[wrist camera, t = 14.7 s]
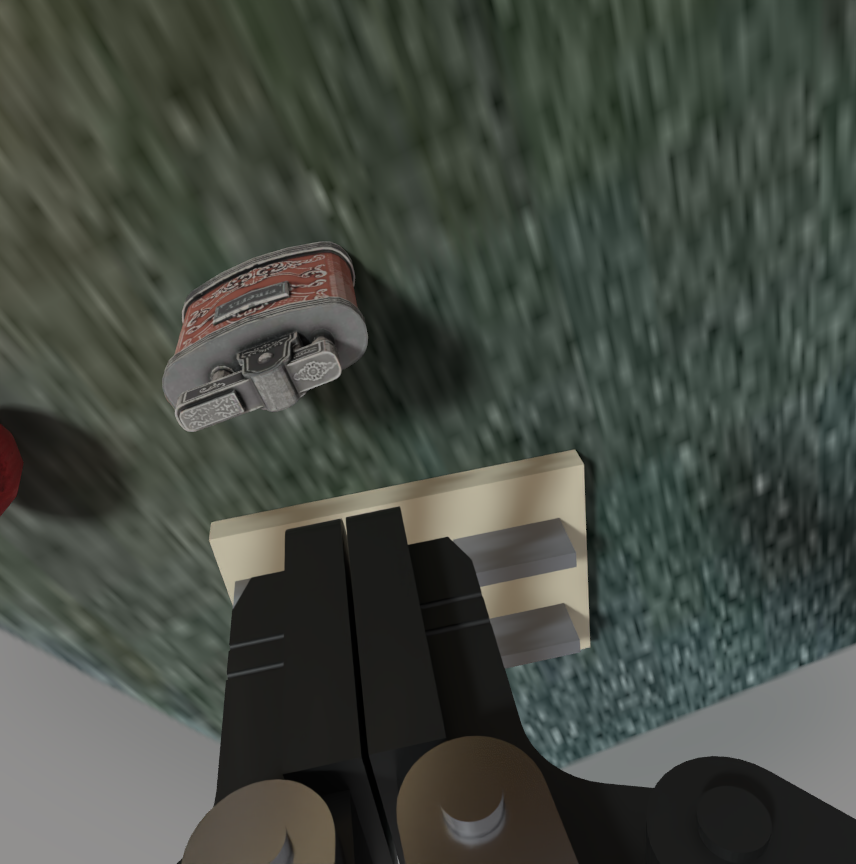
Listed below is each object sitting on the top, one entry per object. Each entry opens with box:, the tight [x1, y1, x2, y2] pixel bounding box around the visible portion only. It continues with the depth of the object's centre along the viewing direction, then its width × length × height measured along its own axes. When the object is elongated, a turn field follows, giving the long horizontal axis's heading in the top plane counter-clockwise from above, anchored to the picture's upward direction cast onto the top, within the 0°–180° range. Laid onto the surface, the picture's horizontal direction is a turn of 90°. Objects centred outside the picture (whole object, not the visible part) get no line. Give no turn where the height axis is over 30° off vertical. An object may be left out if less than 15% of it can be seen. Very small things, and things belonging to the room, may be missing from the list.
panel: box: [209, 450, 590, 668], centre depth 44 cm, size 20×14×6 cm
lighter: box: [162, 242, 368, 432], centre depth 32 cm, size 8×3×10 cm, turn 108°
